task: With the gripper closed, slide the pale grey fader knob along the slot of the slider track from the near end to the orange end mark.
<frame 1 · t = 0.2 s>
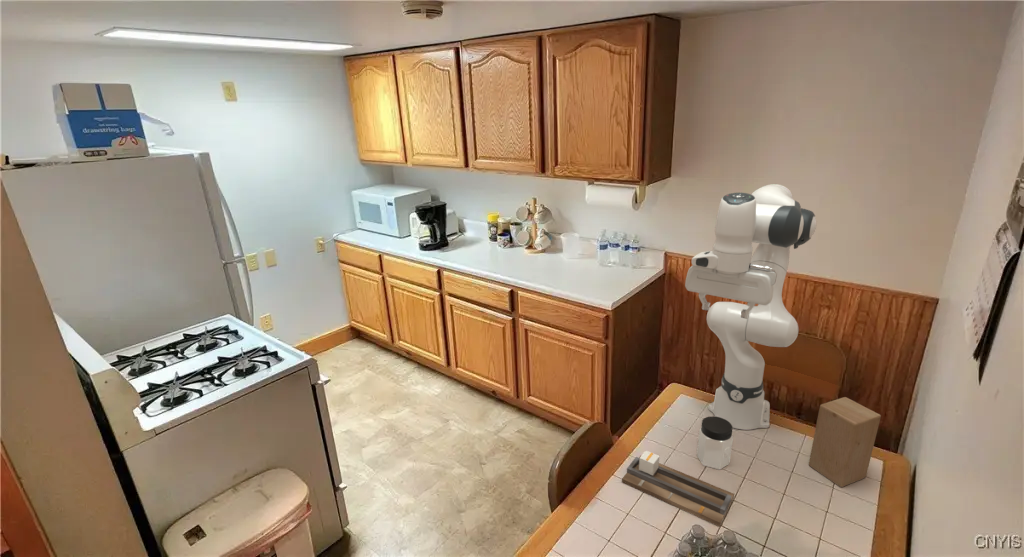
hand: (724, 313, 126), 47 cm above the table, fingers open, 8 cm apart
wooden block: (836, 472, 139), on the table
fader knob: (649, 464, 137), point 4 cm above the table, slide at 0.0 cm
jar: (712, 460, 145), on the table
slider track: (676, 489, 133), on the table
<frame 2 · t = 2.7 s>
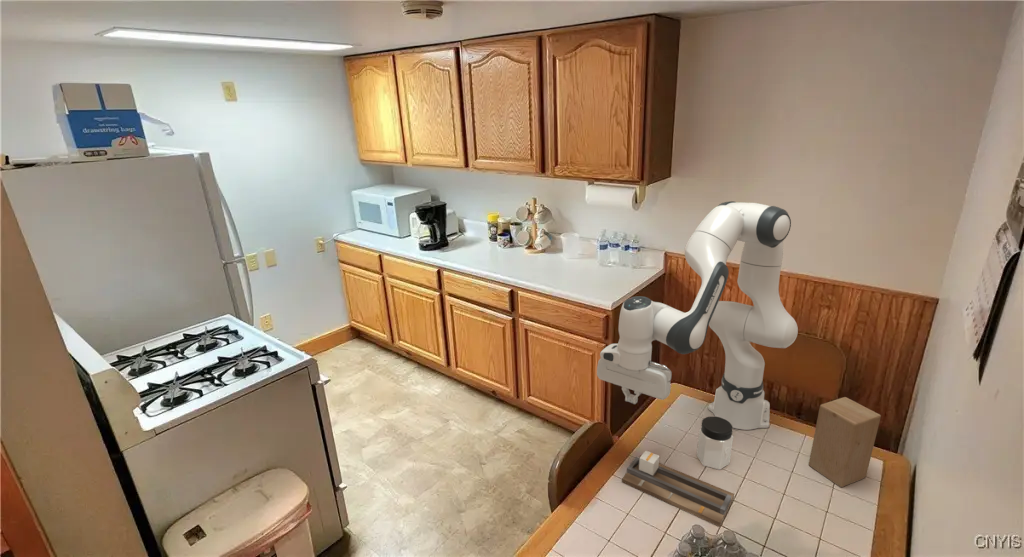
hand: (631, 401, 137), 21 cm above the table, fingers closed
nothing on the table moved.
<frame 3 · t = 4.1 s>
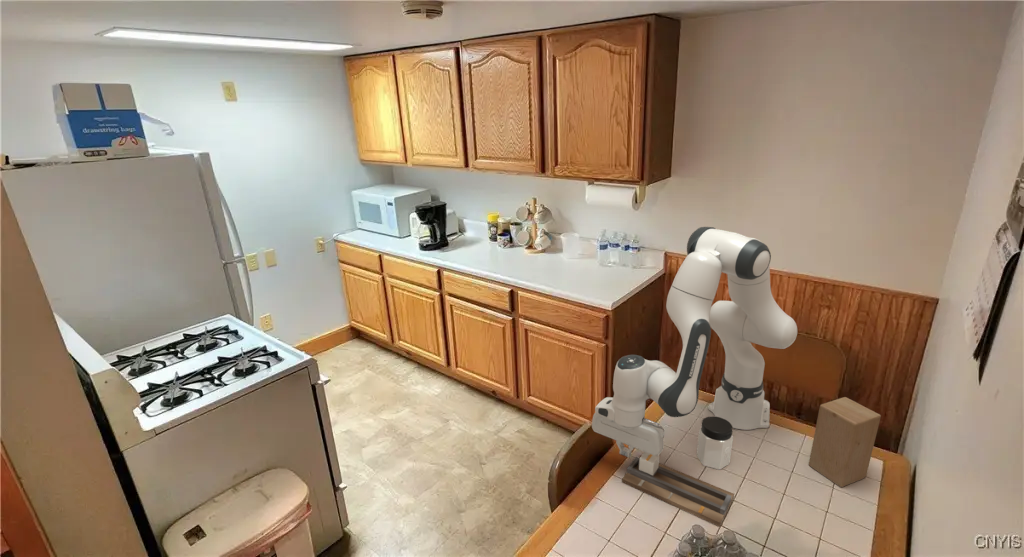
hand: (625, 454, 141), 4 cm above the table, fingers closed
nothing on the table moved.
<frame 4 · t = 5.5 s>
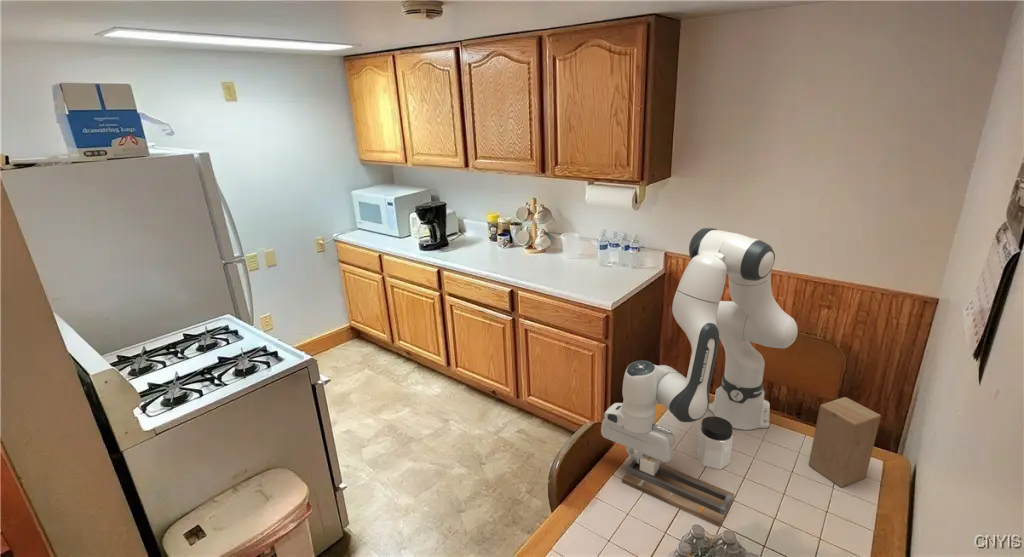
hand: (635, 460, 140), 4 cm above the table, fingers closed
fader knob: (649, 465, 137), point 4 cm above the table, slide at 0.2 cm, touching gripper
everything else where it was.
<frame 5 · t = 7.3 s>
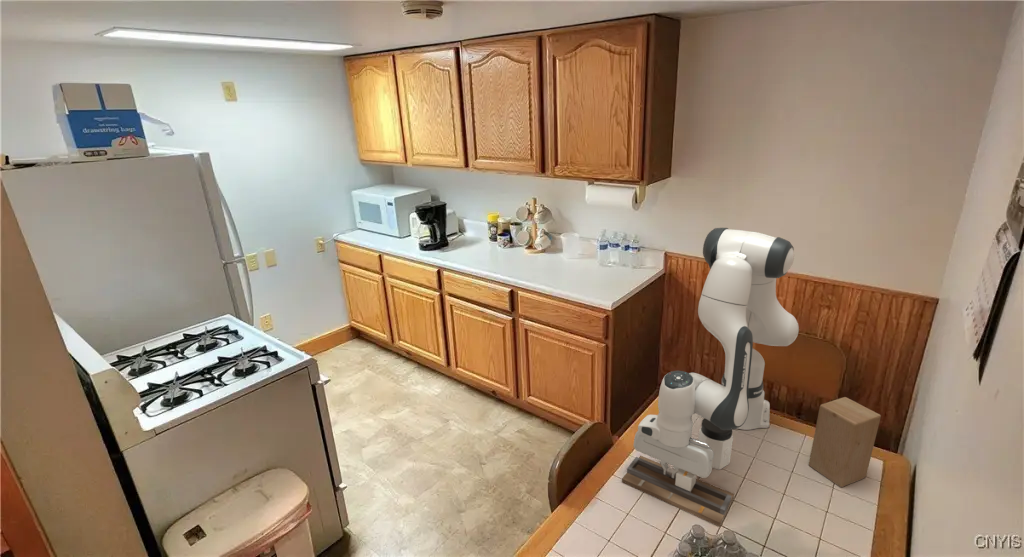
hand: (669, 475, 134), 4 cm above the table, fingers closed
fader knob: (685, 480, 131), point 4 cm above the table, slide at 10.2 cm, touching gripper
everything else where it was.
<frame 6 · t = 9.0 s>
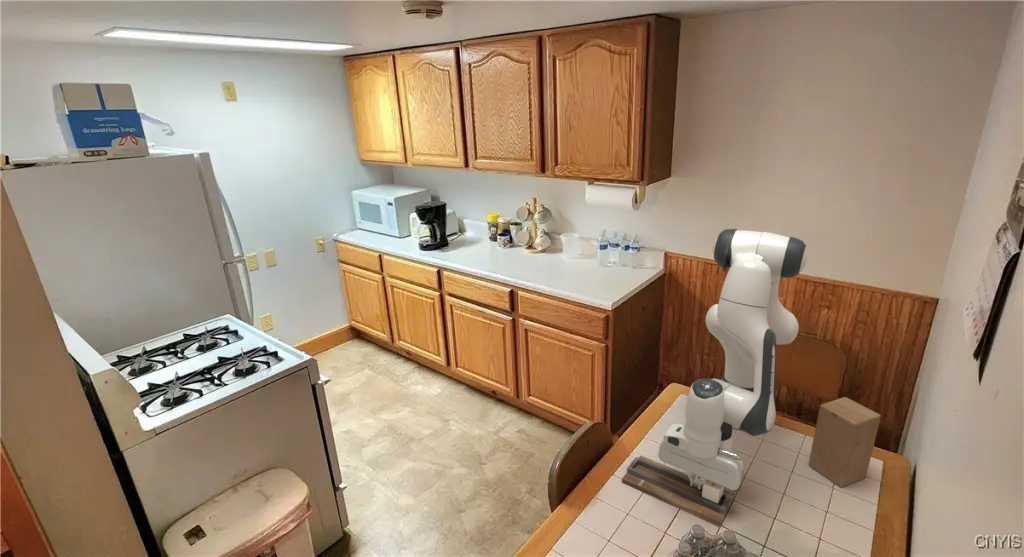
hand: (696, 486, 129), 4 cm above the table, fingers closed
fader knob: (712, 491, 127), point 4 cm above the table, slide at 17.1 cm, touching gripper
everything else where it was.
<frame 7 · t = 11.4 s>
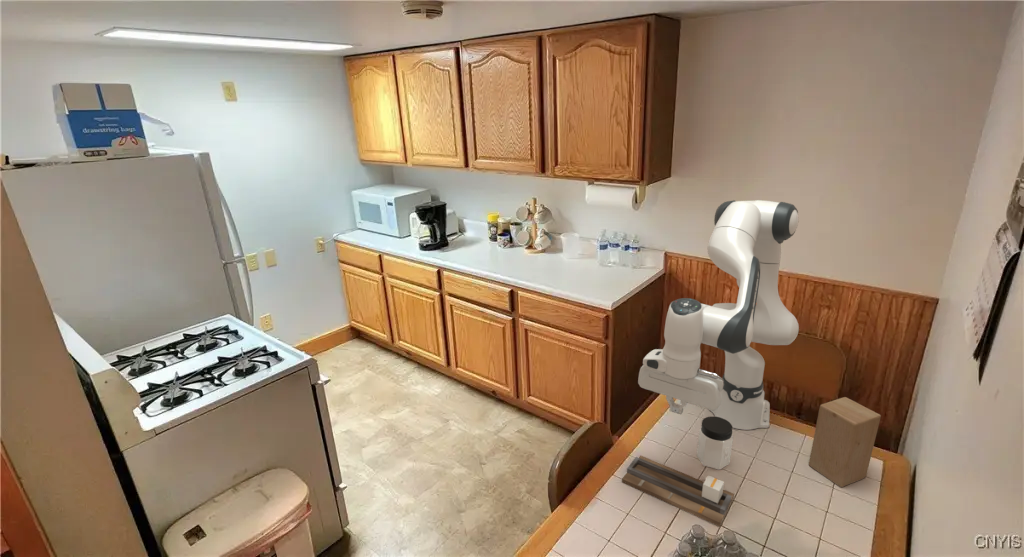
hand: (676, 411, 127), 23 cm above the table, fingers closed
fader knob: (712, 491, 127), point 4 cm above the table, slide at 17.0 cm
everything else where it was.
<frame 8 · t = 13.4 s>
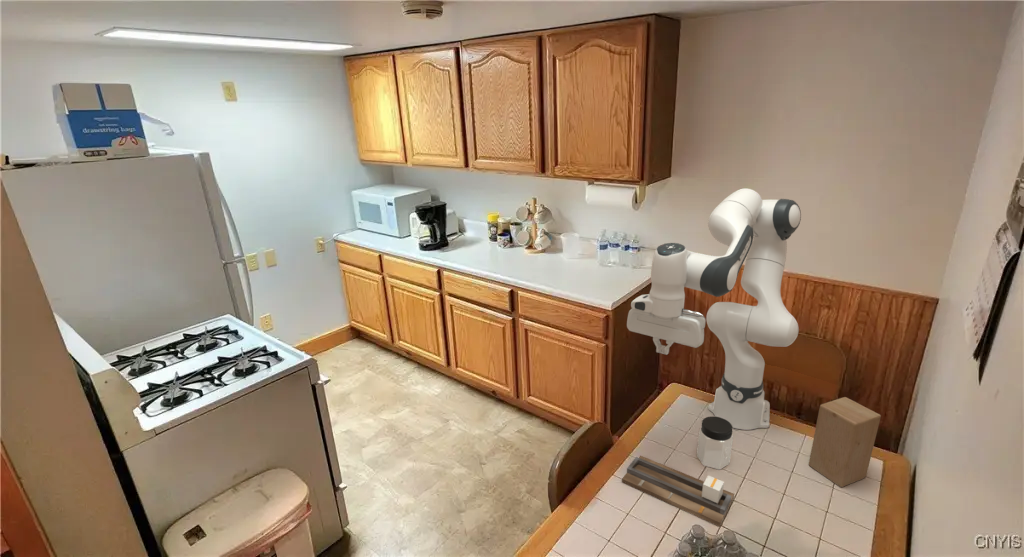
hand: (662, 352, 135), 34 cm above the table, fingers closed
nothing on the table moved.
at the end: fader knob slide at 17.0 cm; fader knob touching nothing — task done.
